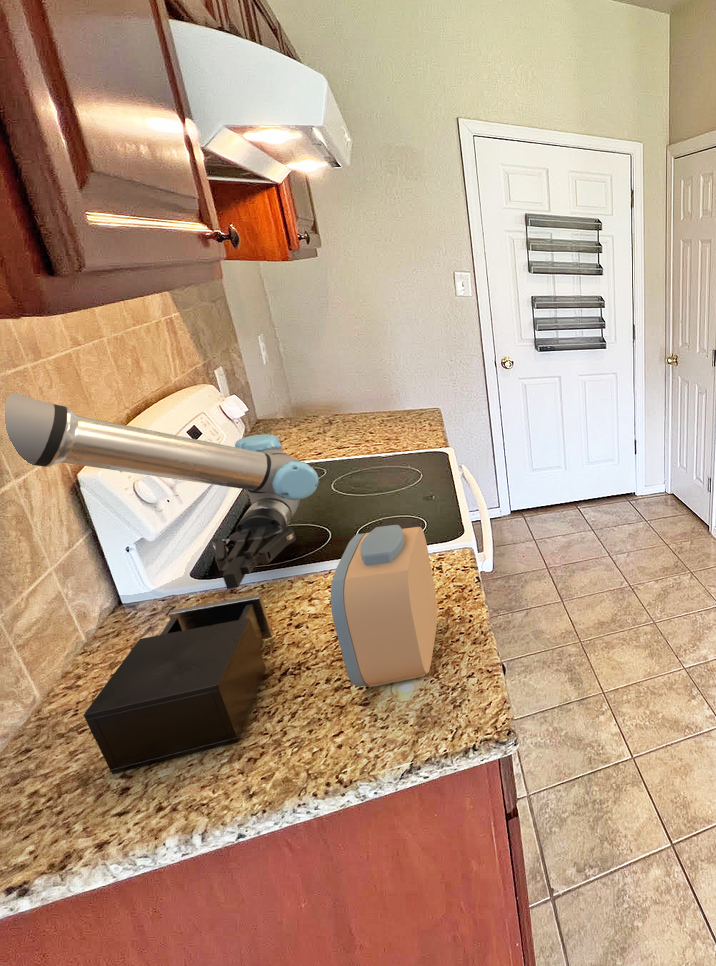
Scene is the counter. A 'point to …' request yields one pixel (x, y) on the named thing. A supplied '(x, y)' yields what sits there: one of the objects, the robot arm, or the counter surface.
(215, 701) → the cabinet
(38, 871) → the counter surface
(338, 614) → the alarm clock
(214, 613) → the drawer
